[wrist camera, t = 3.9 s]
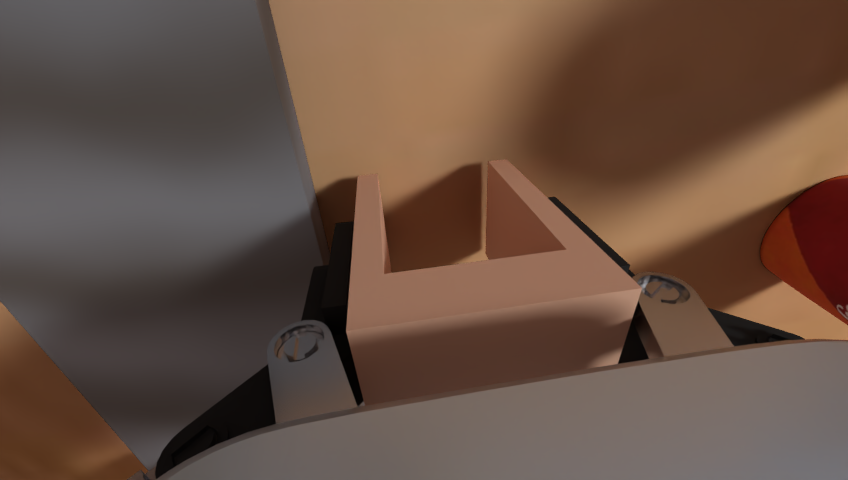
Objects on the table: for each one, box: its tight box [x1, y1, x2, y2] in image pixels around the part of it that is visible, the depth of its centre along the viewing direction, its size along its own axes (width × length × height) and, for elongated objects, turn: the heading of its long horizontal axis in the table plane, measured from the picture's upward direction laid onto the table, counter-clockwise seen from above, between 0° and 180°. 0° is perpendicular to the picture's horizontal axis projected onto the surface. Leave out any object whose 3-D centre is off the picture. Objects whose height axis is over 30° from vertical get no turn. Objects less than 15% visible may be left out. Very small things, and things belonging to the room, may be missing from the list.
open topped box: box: [346, 159, 642, 406], centre depth 11 cm, size 4×5×8 cm
